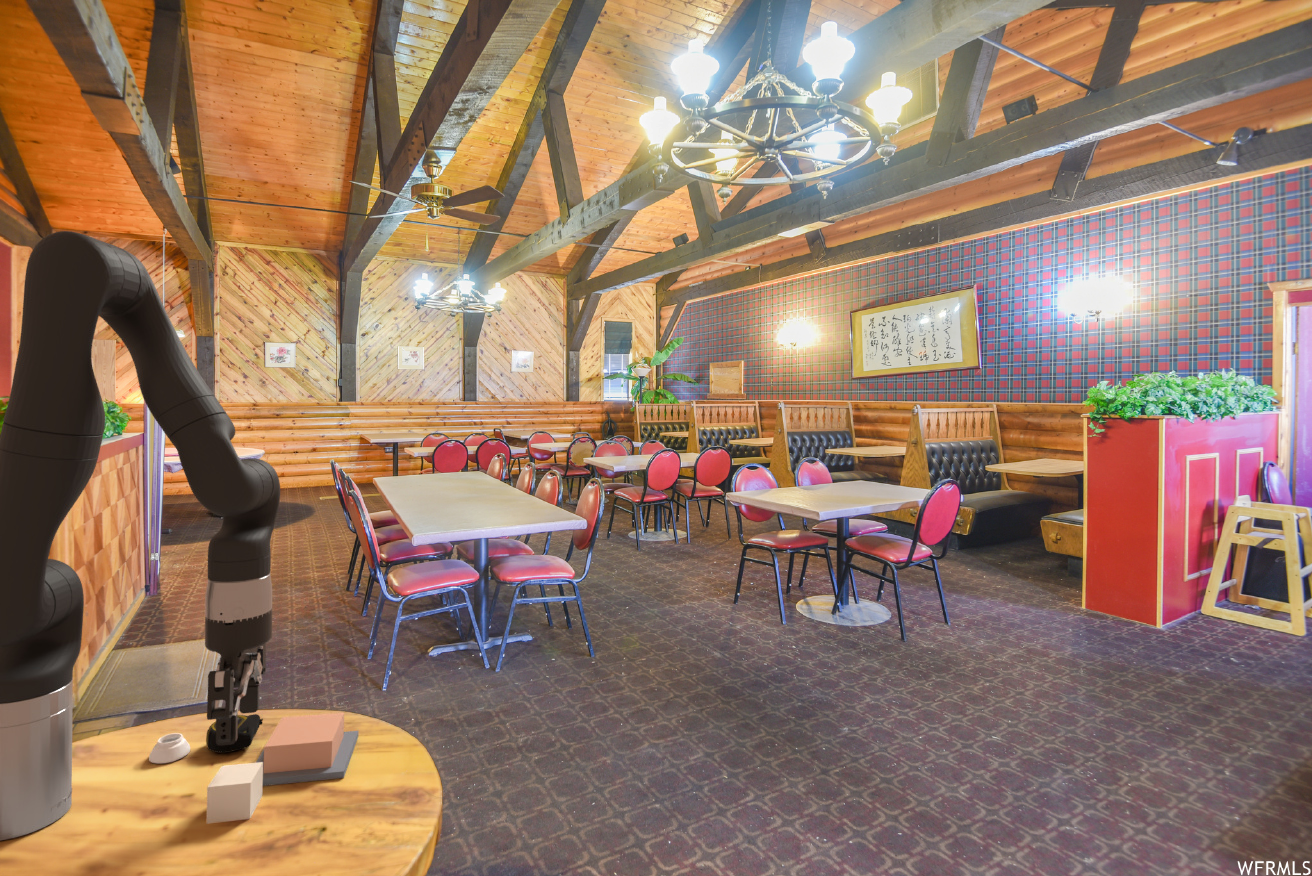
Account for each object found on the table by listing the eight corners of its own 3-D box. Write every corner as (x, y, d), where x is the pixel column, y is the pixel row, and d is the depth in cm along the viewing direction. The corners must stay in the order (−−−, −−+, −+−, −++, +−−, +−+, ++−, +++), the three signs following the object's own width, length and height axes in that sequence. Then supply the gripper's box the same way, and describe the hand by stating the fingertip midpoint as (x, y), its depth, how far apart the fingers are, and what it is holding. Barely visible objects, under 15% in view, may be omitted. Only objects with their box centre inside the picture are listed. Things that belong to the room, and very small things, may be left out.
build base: (244, 787, 91) (244, 753, 90) (270, 743, 102) (271, 713, 102) (343, 777, 94) (344, 745, 94) (358, 736, 106) (359, 707, 105)
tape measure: (250, 754, 99) (250, 731, 99) (198, 760, 97) (199, 736, 97) (262, 732, 106) (263, 710, 105) (214, 737, 104) (215, 714, 103)
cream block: (206, 824, 83) (207, 787, 83) (221, 801, 88) (222, 765, 87) (250, 819, 84) (250, 782, 84) (262, 796, 89) (263, 762, 89)
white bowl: (196, 747, 101) (159, 749, 99) (196, 728, 100) (160, 731, 99) (180, 764, 96) (142, 767, 95) (180, 745, 96) (142, 748, 94)
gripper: (227, 594, 90) (226, 705, 91) (183, 629, 77) (182, 759, 78) (286, 592, 93) (285, 700, 93) (253, 625, 79) (252, 752, 80)
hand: (238, 727), depth 85 cm, fingers open, 8 cm apart
